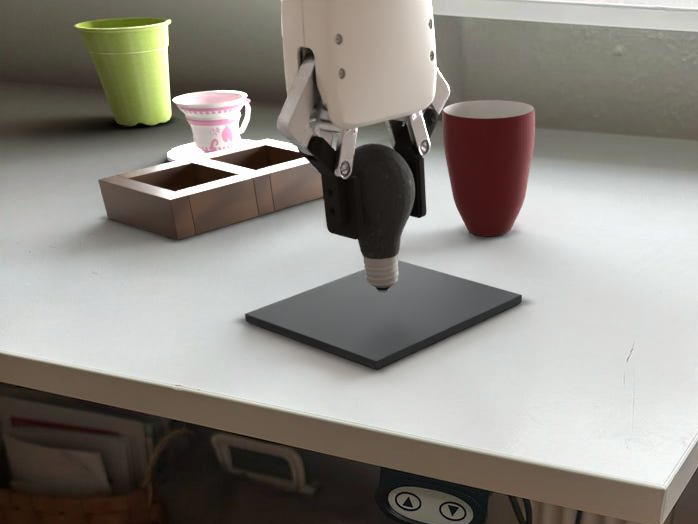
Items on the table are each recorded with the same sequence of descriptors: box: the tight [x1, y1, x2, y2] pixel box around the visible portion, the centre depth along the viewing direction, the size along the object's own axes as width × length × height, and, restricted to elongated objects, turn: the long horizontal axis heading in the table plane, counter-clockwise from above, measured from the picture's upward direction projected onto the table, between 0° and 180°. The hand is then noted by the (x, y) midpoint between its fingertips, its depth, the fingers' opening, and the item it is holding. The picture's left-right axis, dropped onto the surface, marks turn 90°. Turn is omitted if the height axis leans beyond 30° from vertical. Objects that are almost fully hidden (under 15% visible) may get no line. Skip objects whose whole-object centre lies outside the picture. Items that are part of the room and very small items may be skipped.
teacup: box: [166, 89, 257, 162], centre depth 108 cm, size 12×12×6 cm
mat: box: [244, 259, 523, 370], centre depth 72 cm, size 16×14×1 cm
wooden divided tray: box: [98, 138, 324, 241], centre depth 94 cm, size 21×12×4 cm, turn 140°
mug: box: [441, 99, 536, 237], centre depth 85 cm, size 10×8×10 cm
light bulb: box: [351, 142, 415, 292], centre depth 68 cm, size 6×6×10 cm
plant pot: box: [73, 16, 172, 127], centre depth 122 cm, size 12×12×11 cm
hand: (377, 221), depth 68 cm, fingers closed on light bulb, 5 cm apart
